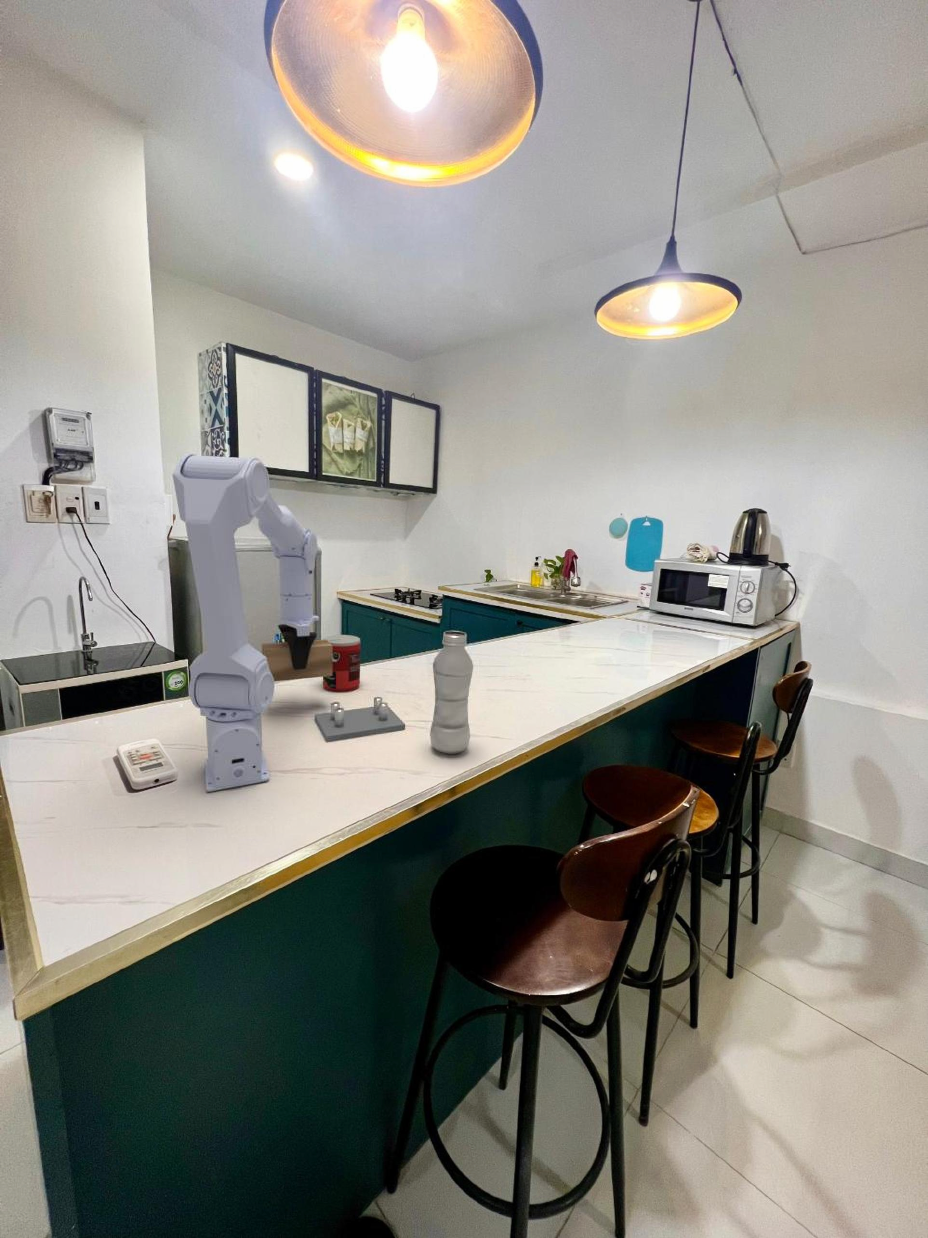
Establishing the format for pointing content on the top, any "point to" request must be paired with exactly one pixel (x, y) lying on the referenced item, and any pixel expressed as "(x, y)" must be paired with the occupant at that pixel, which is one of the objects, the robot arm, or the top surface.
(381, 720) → the peg stand
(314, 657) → the shelf block
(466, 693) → the plastic bottle
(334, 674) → the canned food
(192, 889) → the top surface
